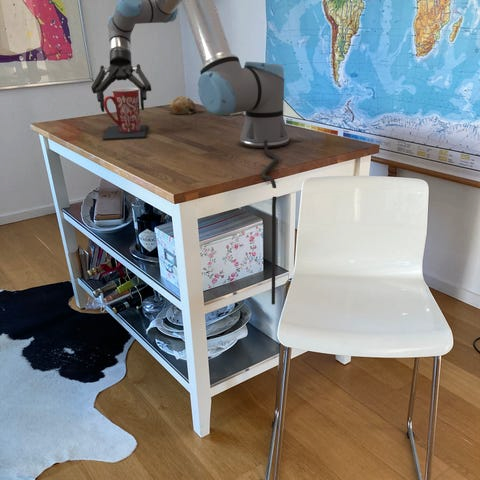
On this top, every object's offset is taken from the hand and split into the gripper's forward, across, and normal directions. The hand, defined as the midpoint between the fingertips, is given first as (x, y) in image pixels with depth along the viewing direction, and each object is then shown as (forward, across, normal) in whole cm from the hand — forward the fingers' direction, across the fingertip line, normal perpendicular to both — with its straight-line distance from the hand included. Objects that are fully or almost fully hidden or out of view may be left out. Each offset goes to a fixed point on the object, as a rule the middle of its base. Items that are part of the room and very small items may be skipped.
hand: (122, 108), depth 177 cm
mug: (+5, 0, -7) cm, 8 cm away
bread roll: (-20, -20, -32) cm, 42 cm away
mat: (+5, 0, -7) cm, 8 cm away
